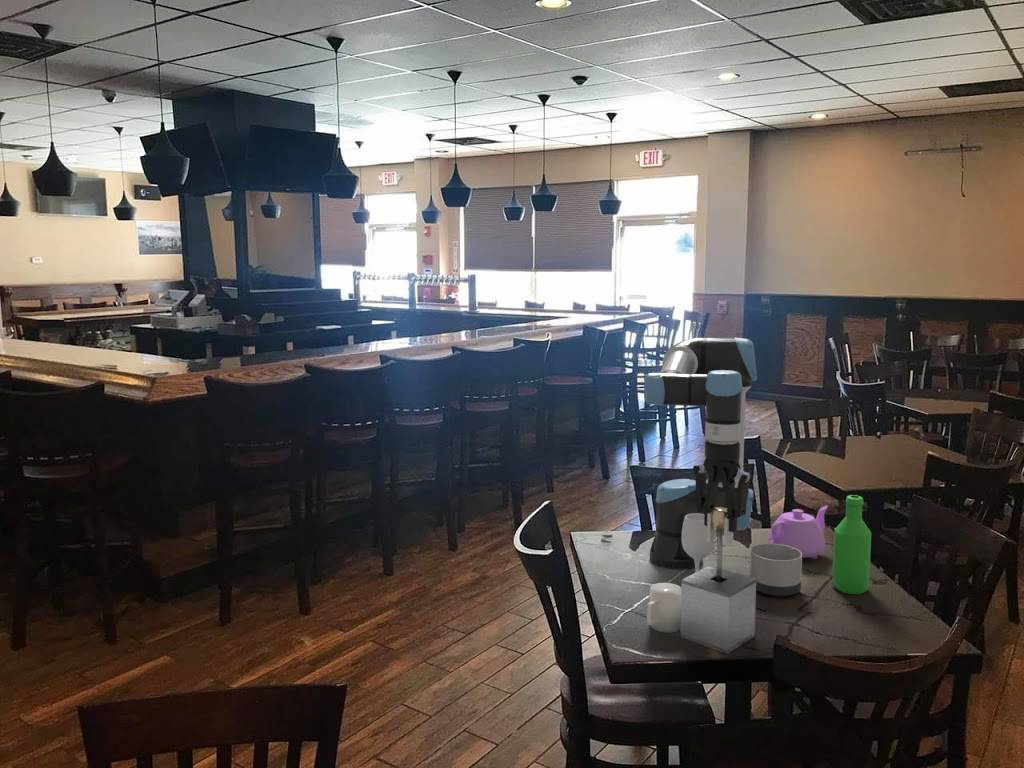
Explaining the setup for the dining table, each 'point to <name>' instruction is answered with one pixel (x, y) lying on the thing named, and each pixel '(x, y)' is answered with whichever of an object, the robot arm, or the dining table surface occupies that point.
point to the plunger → (719, 536)
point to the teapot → (800, 532)
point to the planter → (776, 569)
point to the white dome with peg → (664, 607)
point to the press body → (718, 609)
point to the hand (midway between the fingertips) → (719, 542)
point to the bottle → (852, 550)
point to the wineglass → (695, 538)
